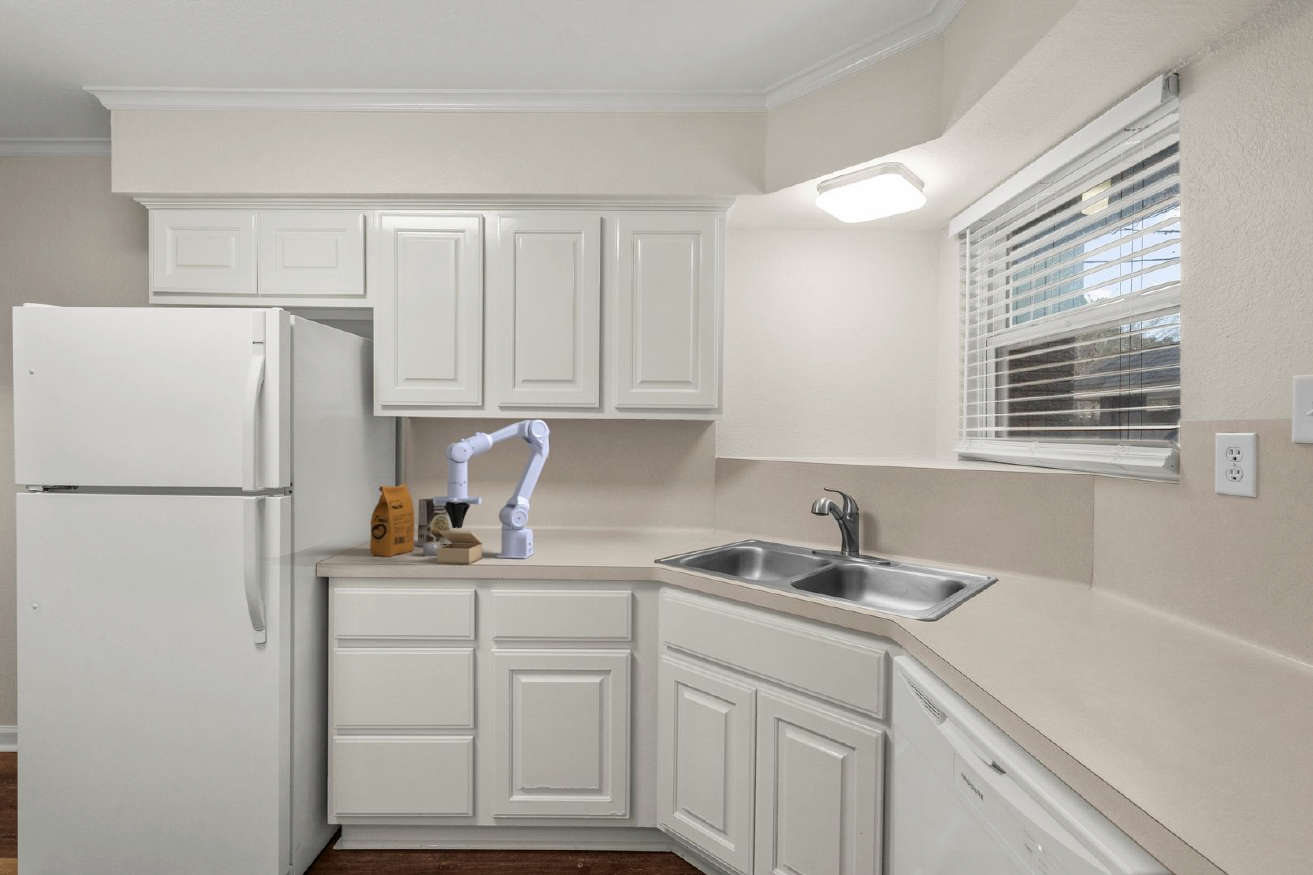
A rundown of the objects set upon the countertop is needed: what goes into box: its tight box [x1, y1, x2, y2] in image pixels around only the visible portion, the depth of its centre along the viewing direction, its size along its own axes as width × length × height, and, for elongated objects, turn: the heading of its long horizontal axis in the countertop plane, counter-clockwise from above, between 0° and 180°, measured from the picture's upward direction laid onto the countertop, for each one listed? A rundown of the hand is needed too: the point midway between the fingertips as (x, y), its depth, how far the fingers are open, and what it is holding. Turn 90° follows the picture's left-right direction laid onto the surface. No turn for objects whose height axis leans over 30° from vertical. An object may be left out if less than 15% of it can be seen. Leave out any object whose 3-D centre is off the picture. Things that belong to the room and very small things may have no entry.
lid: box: [439, 530, 484, 545], centre depth 184 cm, size 10×9×1 cm
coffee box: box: [417, 497, 452, 547], centre depth 209 cm, size 9×6×16 cm
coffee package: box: [369, 483, 415, 558], centre depth 194 cm, size 10×12×22 cm
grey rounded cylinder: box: [422, 541, 441, 557], centre depth 192 cm, size 5×5×4 cm
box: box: [436, 542, 483, 566], centre depth 183 cm, size 10×9×4 cm
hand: (457, 527), depth 181 cm, fingers closed
